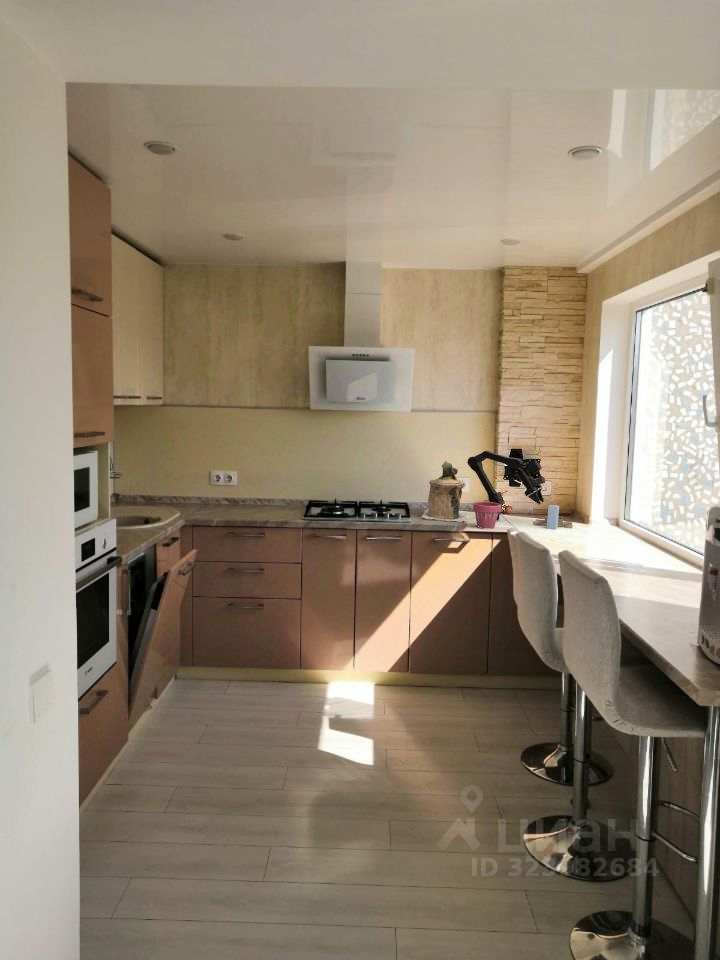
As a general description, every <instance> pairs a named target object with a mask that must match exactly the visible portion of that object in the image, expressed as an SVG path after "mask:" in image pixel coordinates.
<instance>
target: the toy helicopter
mask: <svg viewBox="0 0 720 960" xmlns="http://www.w3.org/2000/svg"><path fill="white" fill-rule="evenodd" d="M504 491H505V492H502V491H499V492H500V493H501V492H502V493H501V495H502V496H503V495H504V494H505V493H508V492H509V490H507V491H506V490H504ZM483 502H489V499H486V500H484V501H483ZM503 504H505V501H504V502H503ZM502 507H503V508H505V513H506V514H509V513H510V514H511V513H512V512H511V510H512V511H513V506H511V505H510V506H509V505H508V506H506V505H504V506H501V508H500V513H504V512H503V509H502Z"/></svg>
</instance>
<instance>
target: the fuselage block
mask: <svg viewBox="0 0 720 960" xmlns="http://www.w3.org/2000/svg"><path fill="white" fill-rule="evenodd" d="M547 508H548V509H547V516H548V518H547V526H546V529H547V530H552V531H553V530H558V528H559V527H558V516H559V511H560V505H556V504H549V505H548V507H547Z"/></svg>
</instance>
